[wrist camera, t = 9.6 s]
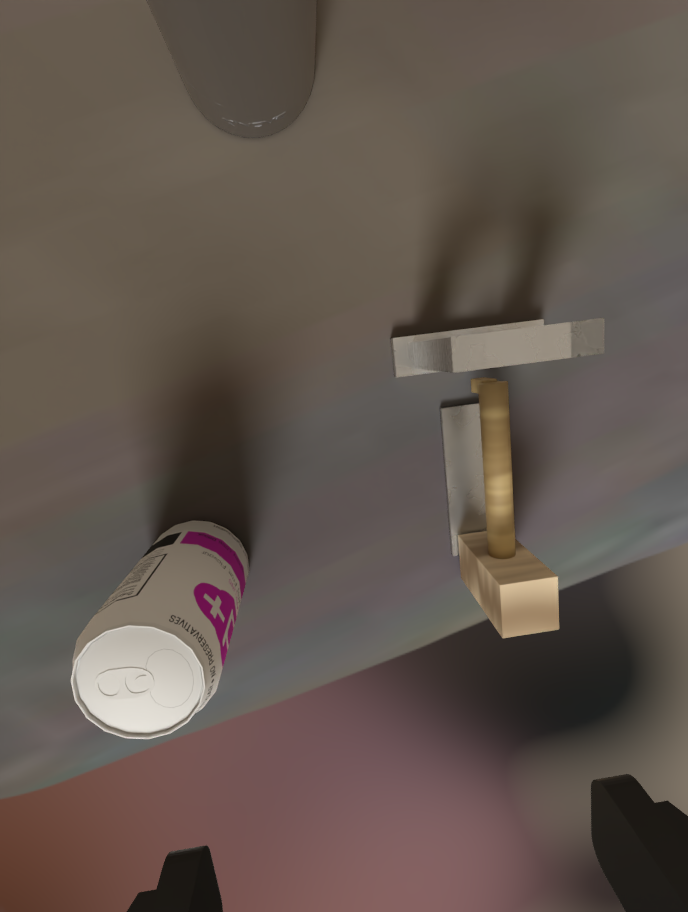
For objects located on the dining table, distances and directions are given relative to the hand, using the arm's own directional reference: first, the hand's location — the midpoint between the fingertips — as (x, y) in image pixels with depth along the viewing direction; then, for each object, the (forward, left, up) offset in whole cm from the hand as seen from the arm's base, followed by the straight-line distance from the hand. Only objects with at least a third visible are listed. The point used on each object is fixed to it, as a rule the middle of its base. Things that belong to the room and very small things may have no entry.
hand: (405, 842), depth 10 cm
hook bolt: (+2, +12, -29) cm, 32 cm away
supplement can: (+6, -12, -30) cm, 33 cm away
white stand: (-1, +12, -30) cm, 32 cm away
